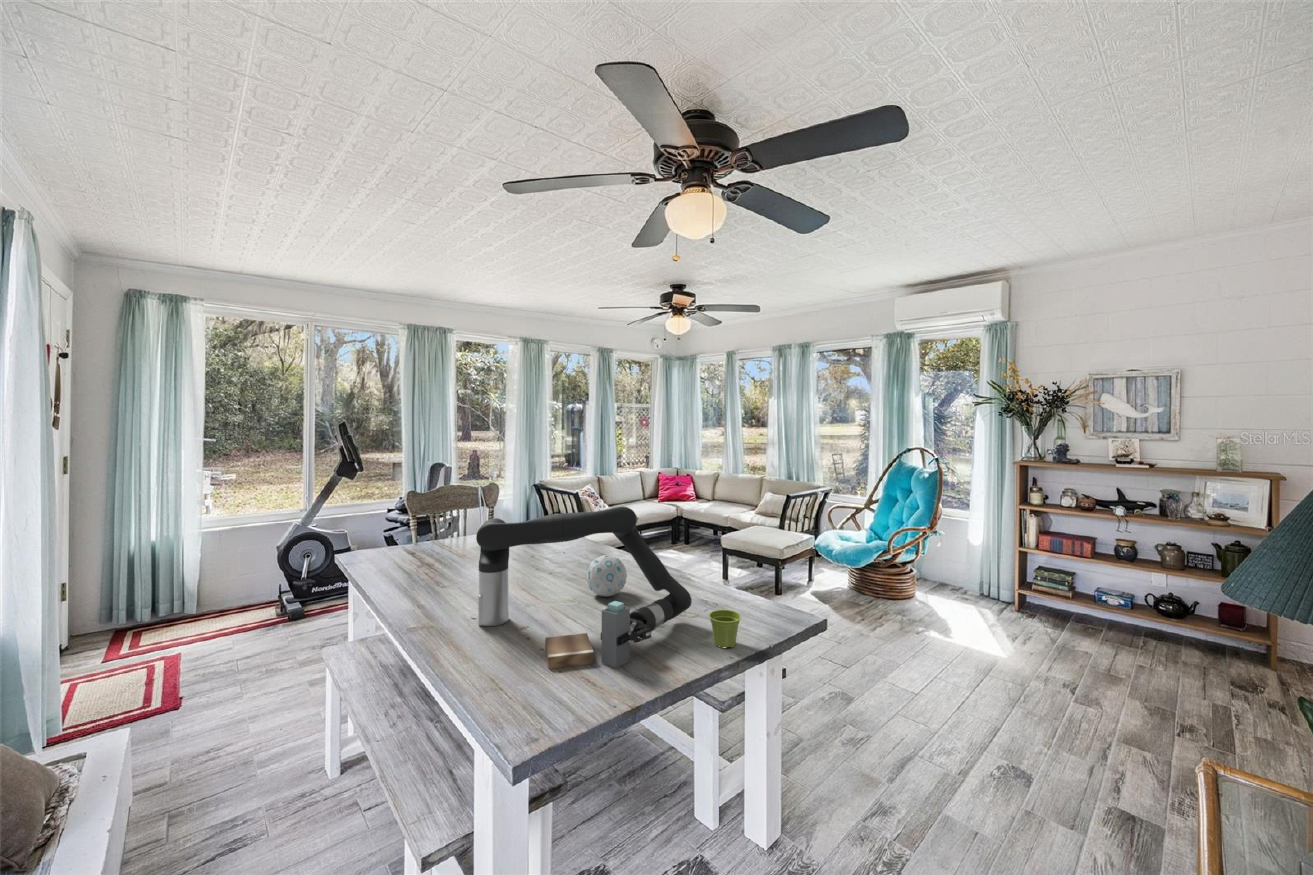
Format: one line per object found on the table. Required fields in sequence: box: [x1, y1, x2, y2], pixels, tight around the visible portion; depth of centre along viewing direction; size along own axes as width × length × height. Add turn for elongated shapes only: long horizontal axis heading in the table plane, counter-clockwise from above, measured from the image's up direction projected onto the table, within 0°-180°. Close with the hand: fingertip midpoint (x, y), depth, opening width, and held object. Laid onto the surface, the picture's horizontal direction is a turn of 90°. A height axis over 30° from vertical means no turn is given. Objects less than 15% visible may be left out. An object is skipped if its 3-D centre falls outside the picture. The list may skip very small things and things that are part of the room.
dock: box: [544, 632, 595, 670], centre depth 143 cm, size 12×13×3 cm
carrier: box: [601, 605, 631, 669], centre depth 139 cm, size 6×5×14 cm
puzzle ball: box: [586, 554, 628, 598], centre depth 192 cm, size 15×15×15 cm
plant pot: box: [708, 609, 742, 648], centre depth 150 cm, size 9×9×9 cm
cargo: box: [607, 600, 625, 613], centre depth 139 cm, size 3×3×3 cm
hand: (609, 639), depth 137 cm, fingers closed on carrier, 5 cm apart
